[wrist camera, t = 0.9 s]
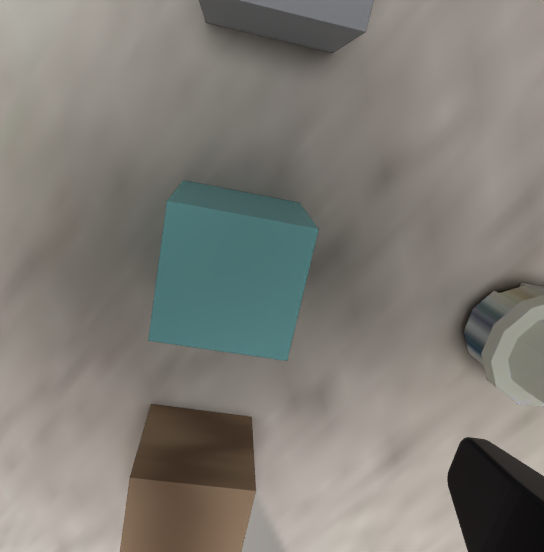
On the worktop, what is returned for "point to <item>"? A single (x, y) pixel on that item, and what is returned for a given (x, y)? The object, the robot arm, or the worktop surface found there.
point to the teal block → (231, 271)
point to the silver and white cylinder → (511, 342)
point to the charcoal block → (294, 19)
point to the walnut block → (190, 483)
